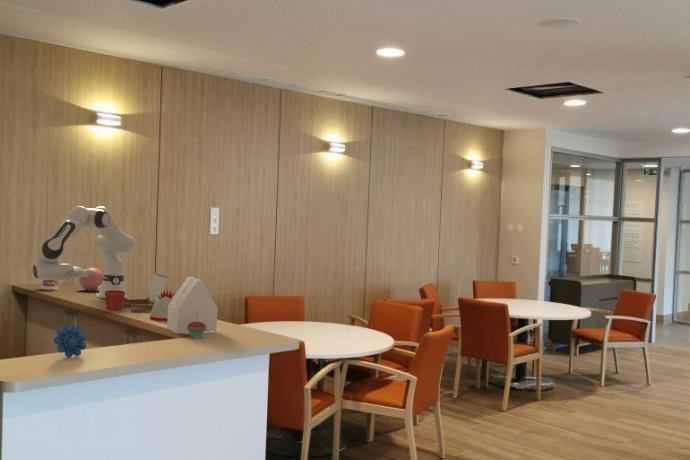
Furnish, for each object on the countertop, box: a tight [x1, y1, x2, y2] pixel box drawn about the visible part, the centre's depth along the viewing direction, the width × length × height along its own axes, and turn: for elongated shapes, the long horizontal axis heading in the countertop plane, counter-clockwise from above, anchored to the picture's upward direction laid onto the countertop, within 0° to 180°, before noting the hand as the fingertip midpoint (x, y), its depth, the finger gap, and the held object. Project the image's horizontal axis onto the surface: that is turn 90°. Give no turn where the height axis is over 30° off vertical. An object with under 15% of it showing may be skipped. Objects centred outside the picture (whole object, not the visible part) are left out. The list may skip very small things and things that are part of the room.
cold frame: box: [122, 297, 156, 313], centre depth 382 cm, size 23×16×5 cm
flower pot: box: [104, 290, 125, 311], centre depth 375 cm, size 11×11×10 cm
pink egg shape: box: [78, 267, 105, 292], centre depth 447 cm, size 15×20×15 cm
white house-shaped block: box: [166, 276, 219, 335], centre depth 325 cm, size 19×15×25 cm
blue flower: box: [53, 324, 87, 358], centre depth 250 cm, size 12×7×12 cm, turn 125°
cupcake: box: [187, 312, 206, 338], centre depth 308 cm, size 9×8×12 cm
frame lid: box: [147, 272, 168, 302], centre depth 387 cm, size 21×15×1 cm
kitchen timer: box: [149, 290, 175, 322], centre depth 353 cm, size 14×14×15 cm
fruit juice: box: [41, 258, 61, 291], centre depth 440 cm, size 9×9×28 cm
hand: (93, 272), depth 368 cm, fingers open, 3 cm apart
